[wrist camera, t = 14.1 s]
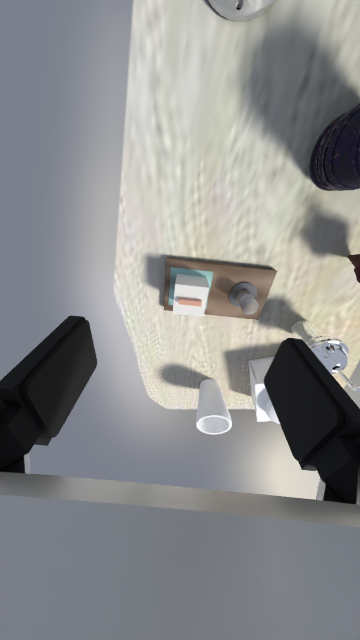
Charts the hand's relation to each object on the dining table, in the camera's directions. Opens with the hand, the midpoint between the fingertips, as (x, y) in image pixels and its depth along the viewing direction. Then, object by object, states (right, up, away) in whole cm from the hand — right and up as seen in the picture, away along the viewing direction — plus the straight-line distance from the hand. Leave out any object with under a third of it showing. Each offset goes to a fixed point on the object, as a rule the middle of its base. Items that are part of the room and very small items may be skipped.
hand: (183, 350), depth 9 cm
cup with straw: (+31, 0, +38) cm, 49 cm away
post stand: (+8, +9, +33) cm, 35 cm away
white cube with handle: (+2, +8, +32) cm, 33 cm away
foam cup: (+10, -20, +51) cm, 56 cm away
